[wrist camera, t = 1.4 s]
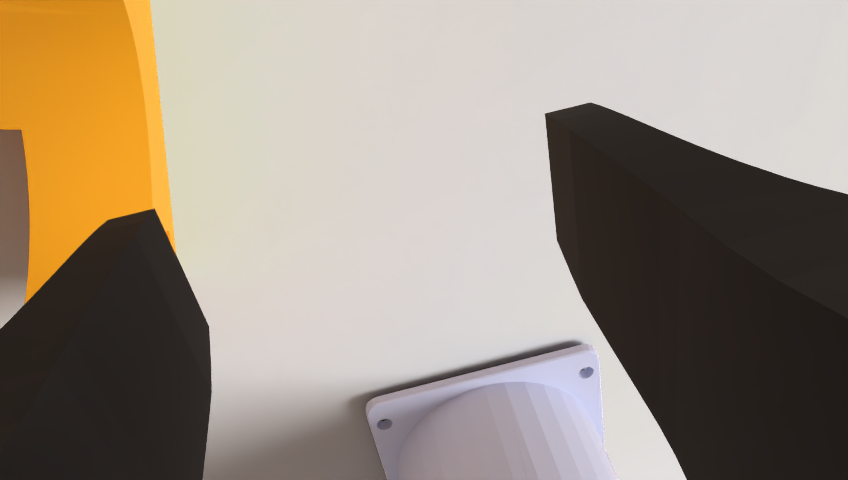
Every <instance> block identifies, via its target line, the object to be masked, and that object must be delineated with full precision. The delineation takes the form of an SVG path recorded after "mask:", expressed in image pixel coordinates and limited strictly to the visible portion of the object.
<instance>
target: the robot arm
mask: <svg viewBox="0 0 848 480" xmlns="http://www.w3.org/2000/svg"><path fill="white" fill-rule="evenodd" d="M545 118H546V129H547V139H548V150H549V160H550V171H551V181H552V192H553V202H554V213H555V223H556V234H557V241H558V243H559V246H560V248H561V251H562V253H563V255H564V258H565V260H566V263H567V265H568V267H569V270H570V272H571V275H572V277H573V279H574V281H575V284H576V286H577V288H578V290H579V293H580V295H581V297H582V299H583V301H584V303H585V304H586V306H587V308H588V309H589V311H590V313H591V314H592V316H593V318H594V319H595V321H596V323H597V324H598V326H599V328H600V329H601V331H602V333H603V334H604V336H605V338H606V339H607V341H608V343H609V344H610V346H611V348H612V349H613V351H614V353H615V354H616V356H617V357H618V359H619V361H620V362H621V364H622V366H623V367H624V369H625V370H626V372H627V374H628V375H629V377H630V379H631V380H632V382H633V384H634V385H635V387H636V388H637V390H638V392H639V393H640V395H641V397H642V398H643V400H644V402H645V403H646V405H647V406H648V408H649V410H650V411H651V413H652V415H653V416H654V418H655V420H656V421H657V423H658V425H659V426H660V428H661V430H662V432H663V434H664V435H665V437H666V439H667V441H668V443H669V444H670V446H671V448H672V450H673V452H674V454H675V455H676V458H677V460H678V462H679V464H680V466H681V468H682V470H683V472H684V474H685V477H686V479H687V480H848V194H844V193H840V192H837V191H833V190H829V189H825V188H821V187H817V186H813V185H810V184H807V183H803V182H800V181H796V180H793V179H790V178H787V177H783V176H781V175H778V174H775V173H772V172H769V171H766V170H763V169H760V168H757V167H754V166H751V165H748V164H745V163H742V162H739V161H736V160H734V159H731V158H728V157H726V156H723V155H720V154H718V153H715V152H712V151H710V150H707V149H705V148H702V147H700V146H697V145H695V144H692V143H690V142H687V141H685V140H682V139H680V138H677V137H675V136H673V135H670V134H668V133H666V132H663V131H661V130H658V129H656V128H654V127H651V126H649V125H647V124H644V123H642V122H640V121H637V120H635V119H633V118H630V117H628V116H625V115H623V114H621V113H618V112H616V111H613V110H611V109H608V108H605V107H603V106H600V105H597V104H593V103H587V104H583V105H579V106H575V107H570V108H566V109H562V110H558V111H554V112H550V113H546V114H545ZM585 367H587V368H586V369H584V370H581V369H583V368H585ZM211 392H212V390H211V356H210V337H209V326H208V324H207V321H206V319H205V317H204V315H203V313H202V311H201V308H200V306H199V304H198V302H197V300H196V297H195V295H194V293H193V291H192V289H191V286H190V284H189V282H188V280H187V278H186V276H185V273H184V271H183V269H182V267H181V265H180V262H179V260H178V258H177V256H176V254H175V252H174V249H173V247H172V245H171V243H170V241H169V238H168V236H167V234H166V232H165V230H164V227H163V225H162V223H161V221H160V219H159V217H158V214H157V212H156V210H155V208H154V209H150V210H146V211H142V212H138V213H134V214H130V215H126V216H121V217H117V218H113V219H109V220H107V221H106V222H105V223H103V224H102V225H101V226H100V227H99V228H98V229H96V230H95V231H94V232H93V233H92V234H91V235H90V236H89V237H88V238H87V239H86V240H85V241H84V242H83V243H82V244H81V245H80V246H79V247H78V248H77V249H76V251H75V252H74V253H73V254H72V255H71V256H70V257H69V258H68V259H67V260H66V261H65V262H64V263H63V264H62V265H61V266H60V268H59V269H58V270H57V271H56V272H55V273H54V274H53V275H52V276H51V277H50V278H49V279H48V280H47V281H46V282H45V283H44V285H43V286H42V287H41V288H40V289H39V290H38V291H37V292H36V293H35V294H34V295H33V296H32V297H31V298H30V299H29V300H28V301H27V302H26V304H25V305H24V306H23V307H22V308H21V309H20V310H19V311H18V312H17V313H16V314H15V315H14V316H13V317H12V318H11V319H10V320H9V321H8V322H7V323H6V324H5V325H4V326H3V327H2V328H1V329H0V480H202V478H203V469H204V460H205V452H206V442H207V433H208V423H209V413H210V403H211ZM366 416H367V420H368V423H369V426H370V429H371V432H372V435H373V438H374V441H375V444H376V447H377V450H378V453H379V456H380V459H381V462H382V465H383V468H384V472H385V475H386V478H387V480H619V478H618V476H617V474H616V472H615V469H614V467H613V465H612V463H611V461H610V459H609V457H608V454H607V452H606V450H605V443H604V427H603V411H602V395H601V379H600V363H599V356H598V353H597V351H596V349H595V348H594V347H593V346H592V345H588V344H583V345H578V346H574V347H570V348H566V349H562V350H558V351H554V352H550V353H546V354H542V355H538V356H534V357H531V358H527V359H523V360H519V361H515V362H511V363H507V364H503V365H499V366H495V367H491V368H487V369H483V370H480V371H476V372H472V373H468V374H464V375H460V376H456V377H452V378H448V379H444V380H440V381H436V382H432V383H429V384H425V385H421V386H417V387H413V388H409V389H405V390H401V391H397V392H393V393H389V394H385V395H381V396H377V397H375V398H373V399H371V400H370V401H369V402H368V403H367V405H366ZM382 419H388V420H386V421H380V420H382Z"/></svg>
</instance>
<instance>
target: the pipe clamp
mask: <svg viewBox="0 0 848 480" xmlns="http://www.w3.org/2000/svg"><path fill="white" fill-rule="evenodd" d="M0 129H4V130H21V131H22V137H23V144H24V151H25V158H26V168H27V178H28V192H29V214H30V243H29V266H28V280H27V289H26V298H25V304H26V302H27V301H28V300H29V299H30V298H31V297H32V296H33V295H34V294H35V293H36V292H37V291H38V290H39V289H40V288H41V287H42V286H43V285H44V283H45V282H46V281H47V280H48V279H49V278H50V277H51V276H52V275H53V274H54V273H55V272H56V271H57V270H58V269H59V268H60V266H61V265H62V264H63V263H64V262H65V261H66V260H67V259H68V258H69V257H70V256H71V255H72V254H73V253H74V252H75V251H76V249H77V248H78V247H79V246H80V245H81V244H82V243H83V242H84V241H85V240H86V239H87V238H88V237H89V236H90V235H91V234H92V233H93V232H94V231H95V230H96V229H98V228H99V227H100V226H101V225H102V224H103V223H105V222H106V221H107V220H109V219H113V218H117V217H121V216H126V215H130V214H134V213H138V212H142V211H146V210H150V209H154V208H155V210H156V212H157V214H158V217H159V219H160V221H161V223H162V225H163V227H164V230H165V232H166V234H167V236H168V238H169V241H170V243H171V245H172V247H173V249H174V252H175V254H176V249H175V239H174V230H173V220H172V211H171V201H170V191H169V182H168V172H167V162H166V153H165V143H164V133H163V124H162V114H161V105H160V95H159V85H158V76H157V66H156V56H155V47H154V37H153V27H152V18H151V8H150V0H0Z"/></svg>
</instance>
